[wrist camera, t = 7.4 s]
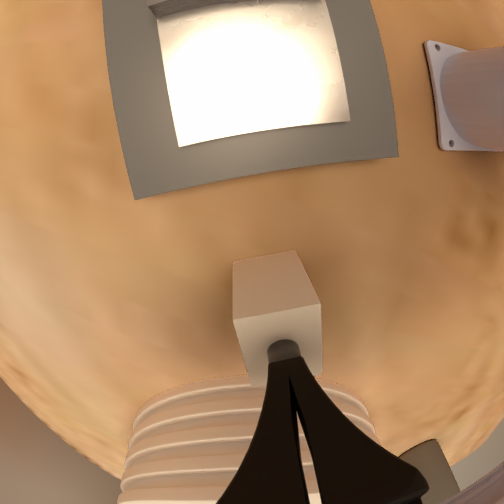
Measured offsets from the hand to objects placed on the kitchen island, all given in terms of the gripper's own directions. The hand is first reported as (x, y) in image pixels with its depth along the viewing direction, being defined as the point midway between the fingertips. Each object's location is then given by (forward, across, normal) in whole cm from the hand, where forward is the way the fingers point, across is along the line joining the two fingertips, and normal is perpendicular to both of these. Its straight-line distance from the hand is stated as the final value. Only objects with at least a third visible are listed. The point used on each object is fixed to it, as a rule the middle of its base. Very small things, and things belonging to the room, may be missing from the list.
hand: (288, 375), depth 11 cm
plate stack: (+9, +6, +23) cm, 25 cm away
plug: (+9, 0, +1) cm, 9 cm away
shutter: (+6, -2, -13) cm, 14 cm away
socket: (+8, -2, -18) cm, 20 cm away
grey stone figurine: (+9, -21, +47) cm, 52 cm away
